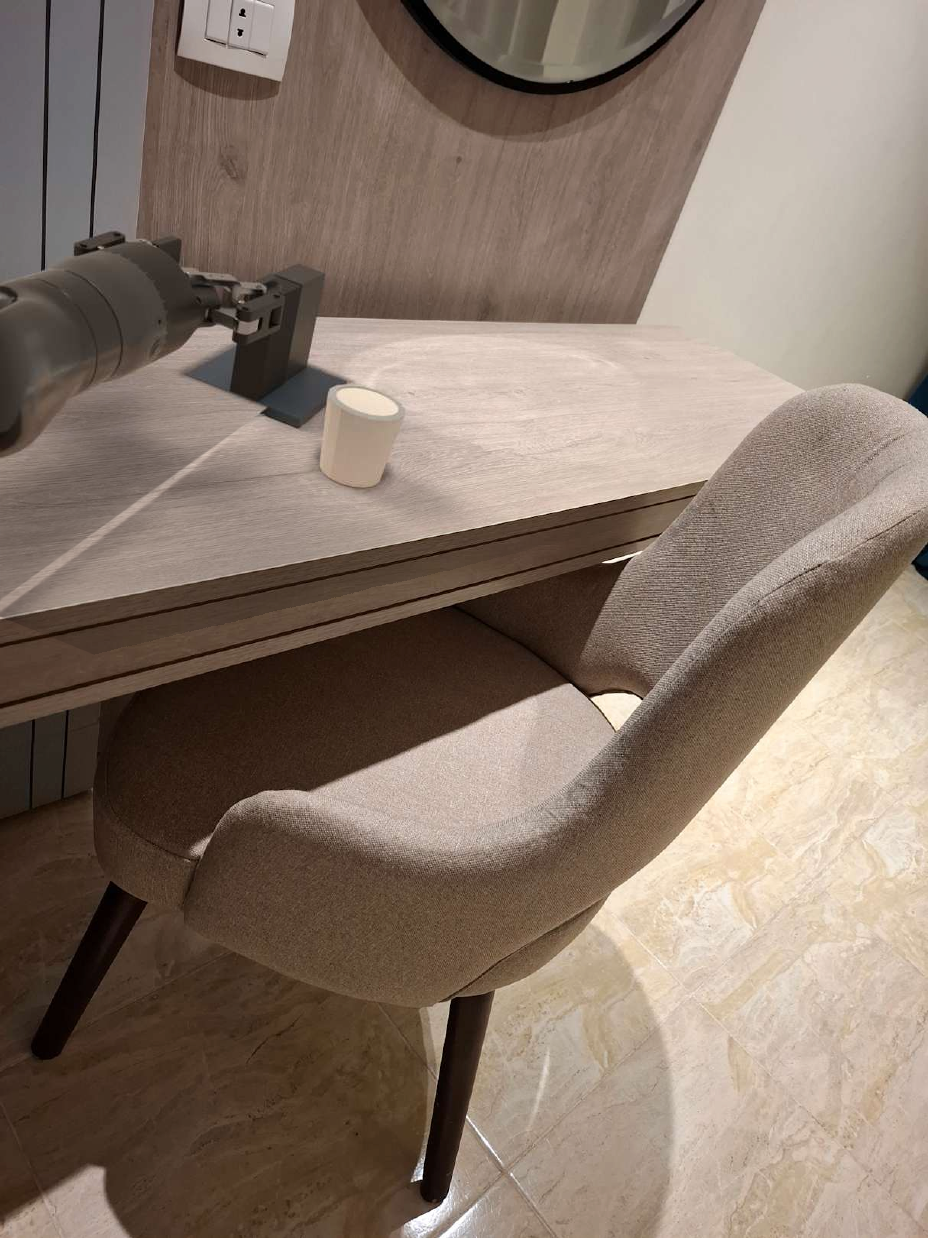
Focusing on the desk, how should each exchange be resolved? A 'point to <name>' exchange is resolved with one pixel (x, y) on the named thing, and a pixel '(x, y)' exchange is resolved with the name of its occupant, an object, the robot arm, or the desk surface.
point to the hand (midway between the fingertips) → (225, 268)
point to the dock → (281, 398)
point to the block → (267, 352)
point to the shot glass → (358, 434)
